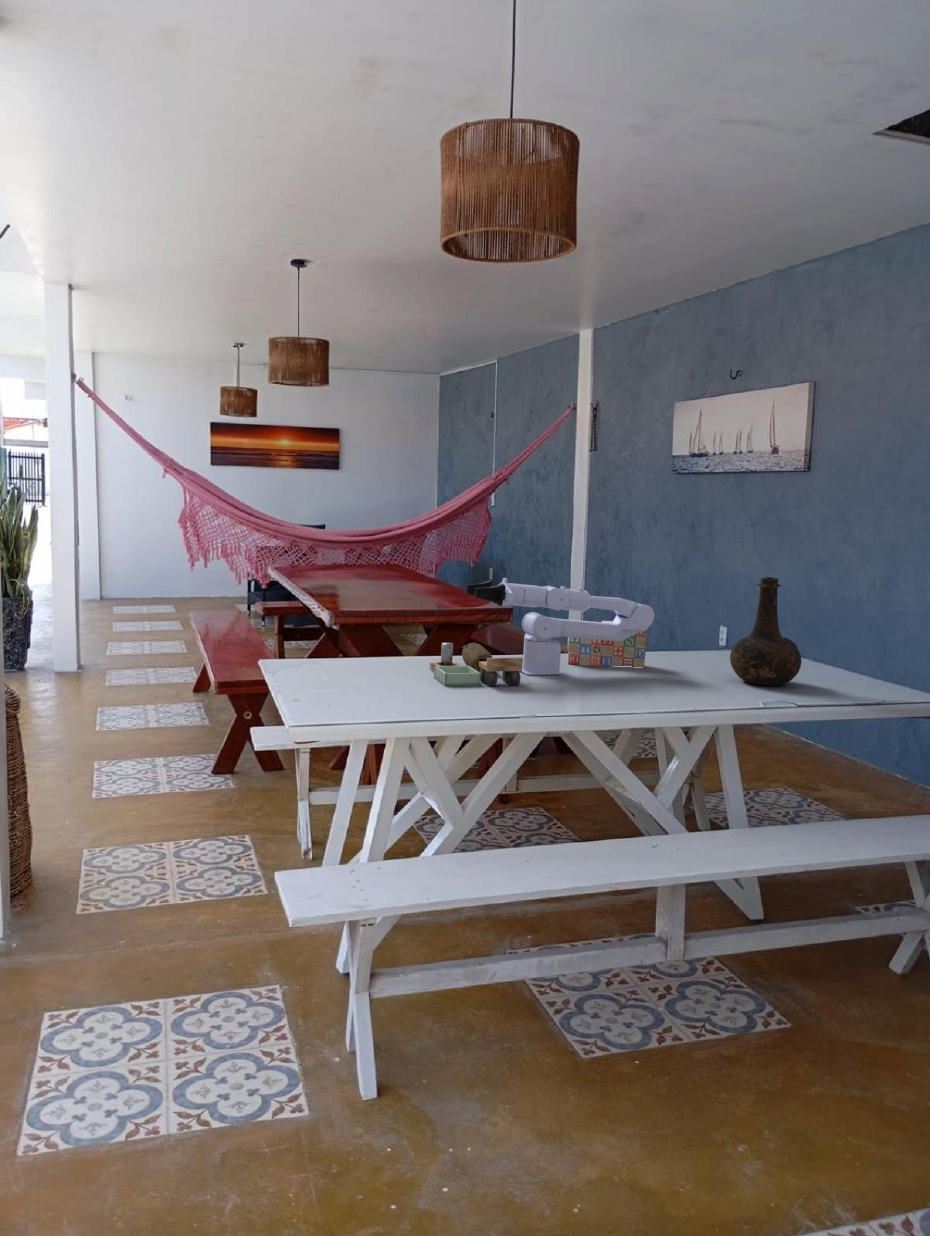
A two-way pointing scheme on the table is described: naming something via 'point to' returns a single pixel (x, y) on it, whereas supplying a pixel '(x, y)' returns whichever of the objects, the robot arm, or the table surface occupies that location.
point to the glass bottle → (766, 645)
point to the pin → (446, 654)
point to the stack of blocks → (608, 651)
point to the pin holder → (440, 665)
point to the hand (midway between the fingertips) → (470, 590)
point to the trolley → (506, 665)
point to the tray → (457, 675)
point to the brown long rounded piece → (475, 655)
